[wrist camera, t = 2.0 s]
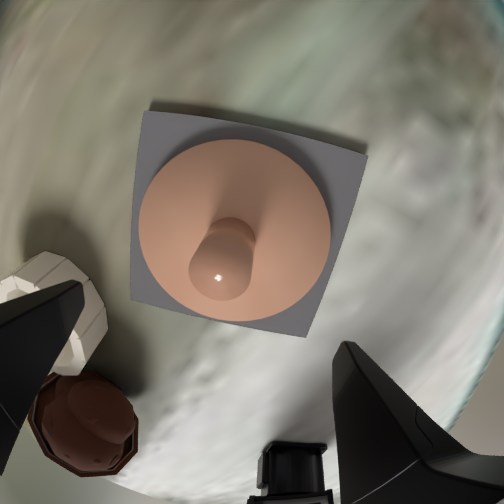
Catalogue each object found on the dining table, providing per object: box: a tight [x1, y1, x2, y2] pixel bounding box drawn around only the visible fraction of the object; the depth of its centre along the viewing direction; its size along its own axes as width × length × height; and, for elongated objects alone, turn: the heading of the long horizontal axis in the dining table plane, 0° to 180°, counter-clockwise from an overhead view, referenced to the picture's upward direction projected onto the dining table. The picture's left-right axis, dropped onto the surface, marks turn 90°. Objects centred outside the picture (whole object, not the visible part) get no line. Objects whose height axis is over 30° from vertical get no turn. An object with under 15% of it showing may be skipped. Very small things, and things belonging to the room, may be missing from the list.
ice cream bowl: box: [27, 370, 138, 477], centre depth 19 cm, size 11×11×15 cm
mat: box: [130, 111, 368, 338], centre depth 16 cm, size 12×12×1 cm
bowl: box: [0, 251, 108, 375], centre depth 18 cm, size 9×9×4 cm
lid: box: [139, 139, 331, 321], centre depth 14 cm, size 10×10×4 cm
